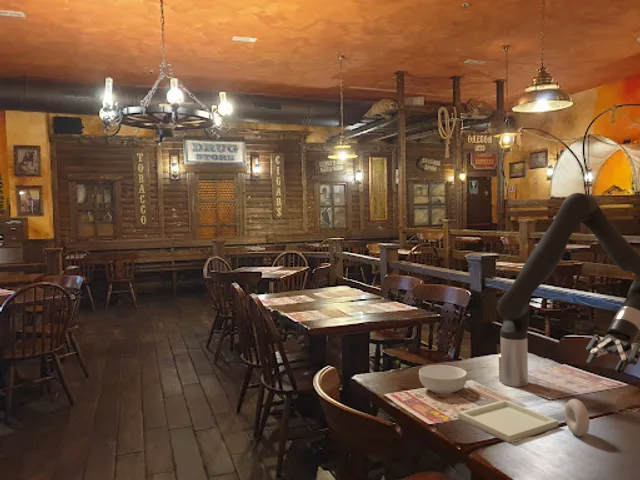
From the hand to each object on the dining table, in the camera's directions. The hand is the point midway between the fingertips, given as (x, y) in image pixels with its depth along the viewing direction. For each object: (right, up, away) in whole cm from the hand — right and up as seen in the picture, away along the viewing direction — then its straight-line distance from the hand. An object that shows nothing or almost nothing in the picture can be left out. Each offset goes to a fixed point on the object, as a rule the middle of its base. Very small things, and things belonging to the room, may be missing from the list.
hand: (602, 369), depth 148 cm
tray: (-26, -17, +5) cm, 32 cm away
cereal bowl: (-38, -17, +35) cm, 54 cm away
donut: (-10, -17, -5) cm, 21 cm away
